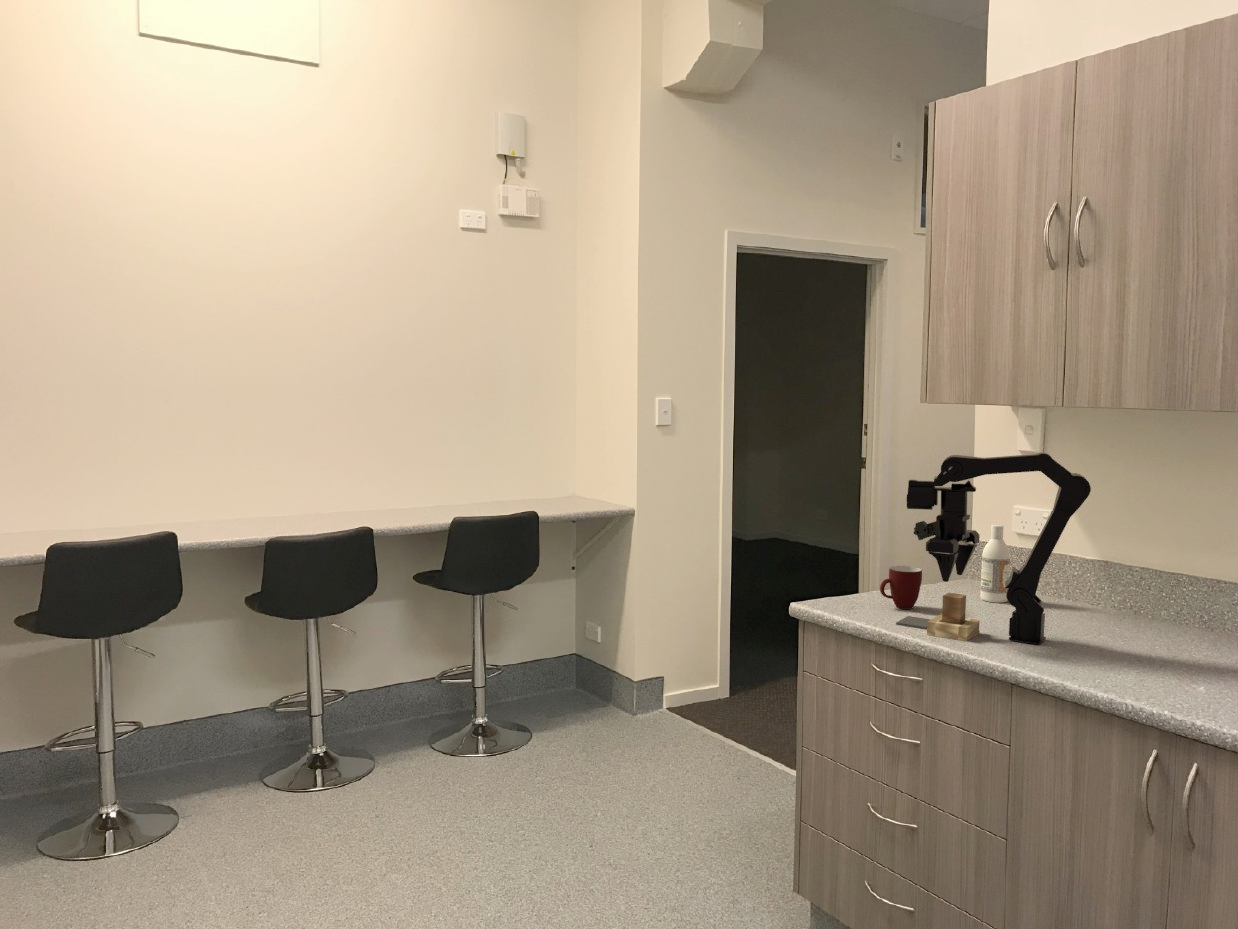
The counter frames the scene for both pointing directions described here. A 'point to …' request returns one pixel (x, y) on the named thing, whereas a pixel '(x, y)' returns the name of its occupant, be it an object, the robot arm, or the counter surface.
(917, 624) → the mat
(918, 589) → the mug
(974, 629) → the holder
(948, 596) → the peg
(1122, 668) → the counter surface
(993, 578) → the bath foam
